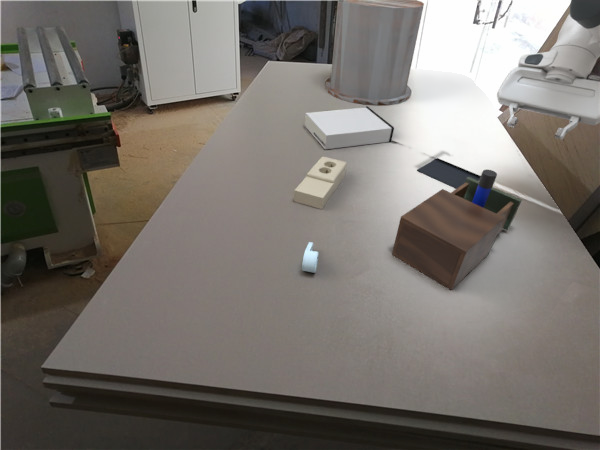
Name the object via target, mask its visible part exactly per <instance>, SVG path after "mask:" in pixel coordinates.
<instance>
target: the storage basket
mask: <svg viewBox="0 0 600 450" xmlns="http://www.w3.org/2000/svg"><path fill="white" fill-rule="evenodd" d="M424 6H425V3H424V2H422V1H420V0H337V9H336V18H335V28H334V29H335V30H334V38H333V39H334V40H333V51H332V62H331V71H330V77H328V78H327V79H326V80H325V82H324V90H325V91H326V92H327V93H328V94H329V95H331V96H332V97H334V98H337V99H338V100H342V101H344V102H348V103H353V104H357V105H358V104H359V105H364V106H391V105H392V106H393V105H399V104H401V103H405V102H407V101H408V100H409V99H410V98H411V95H412V89H411V87H410V86H409V85H408V83H409V78H410V73H411V67H412V64H413V58H414V54H415V50H416V45H417V40H418V35H419V30H420V25H421V21H422V16H423V12H424Z"/></svg>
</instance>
